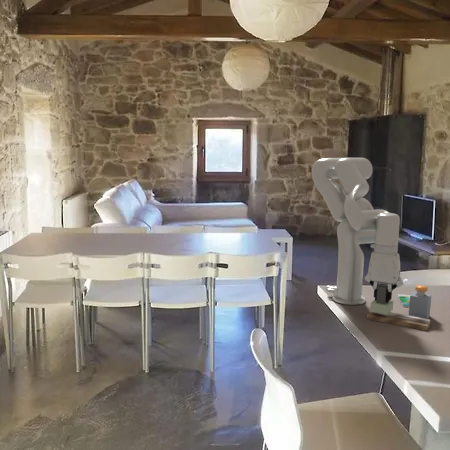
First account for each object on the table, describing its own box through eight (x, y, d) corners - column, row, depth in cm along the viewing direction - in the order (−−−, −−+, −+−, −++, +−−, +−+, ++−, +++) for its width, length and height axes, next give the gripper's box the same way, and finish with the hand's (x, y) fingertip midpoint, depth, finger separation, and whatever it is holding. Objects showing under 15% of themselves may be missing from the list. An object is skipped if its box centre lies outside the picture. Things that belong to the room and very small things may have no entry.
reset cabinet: (408, 317, 187) (410, 295, 185) (412, 312, 192) (413, 291, 190) (426, 320, 184) (428, 298, 182) (429, 315, 189) (431, 294, 187)
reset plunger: (413, 301, 186) (414, 287, 185) (415, 298, 189) (416, 284, 189) (425, 303, 184) (426, 289, 183) (427, 300, 187) (428, 286, 187)
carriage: (370, 311, 184) (371, 286, 182) (375, 306, 190) (377, 281, 188) (387, 314, 181) (389, 289, 179) (392, 309, 187) (394, 284, 185)
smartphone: (414, 294, 212) (423, 307, 197) (414, 297, 212) (423, 309, 197) (395, 293, 213) (403, 305, 198) (395, 295, 213) (403, 307, 198)
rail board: (366, 318, 185) (367, 311, 184) (372, 313, 191) (372, 306, 190) (426, 330, 175) (427, 323, 174) (430, 324, 181) (431, 317, 180)
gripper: (359, 248, 182) (355, 299, 186) (408, 254, 174) (403, 308, 177) (365, 244, 189) (362, 293, 192) (413, 250, 180) (408, 302, 184)
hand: (382, 300), depth 185 cm, fingers closed on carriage, 3 cm apart
